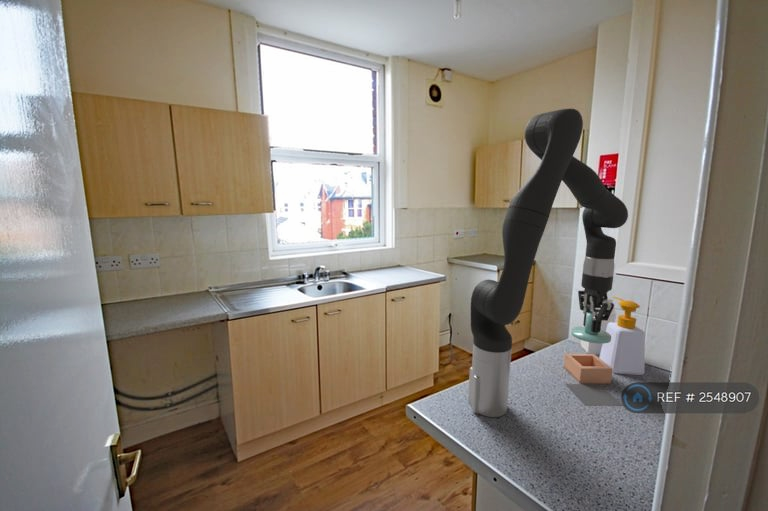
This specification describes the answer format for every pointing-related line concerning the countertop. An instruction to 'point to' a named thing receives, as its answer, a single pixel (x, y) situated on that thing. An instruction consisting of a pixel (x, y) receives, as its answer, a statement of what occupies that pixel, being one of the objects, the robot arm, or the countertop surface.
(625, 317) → the soap bottle
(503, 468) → the countertop surface
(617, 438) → the countertop surface
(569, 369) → the dish
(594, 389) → the mat
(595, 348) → the milk carton
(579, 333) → the lid
